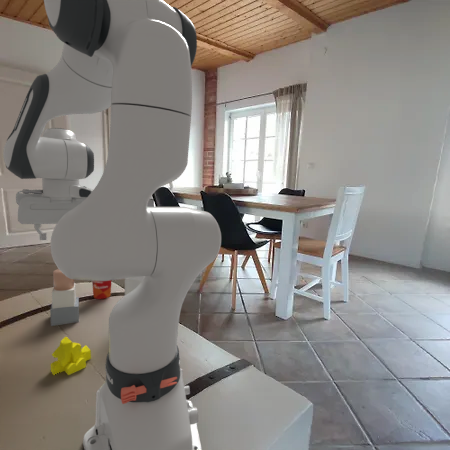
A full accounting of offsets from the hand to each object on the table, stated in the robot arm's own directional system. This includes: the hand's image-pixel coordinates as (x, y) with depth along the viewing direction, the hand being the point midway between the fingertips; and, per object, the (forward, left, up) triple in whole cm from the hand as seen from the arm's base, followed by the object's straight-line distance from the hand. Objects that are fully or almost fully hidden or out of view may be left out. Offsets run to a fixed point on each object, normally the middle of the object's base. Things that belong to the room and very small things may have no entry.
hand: (62, 239), depth 80 cm
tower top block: (0, 0, -20) cm, 20 cm away
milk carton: (-11, -20, -24) cm, 33 cm away
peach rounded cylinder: (0, 0, -15) cm, 15 cm away
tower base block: (0, 0, -25) cm, 24 cm away
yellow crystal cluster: (-24, -2, -25) cm, 34 cm away
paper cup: (+13, -11, -24) cm, 30 cm away
